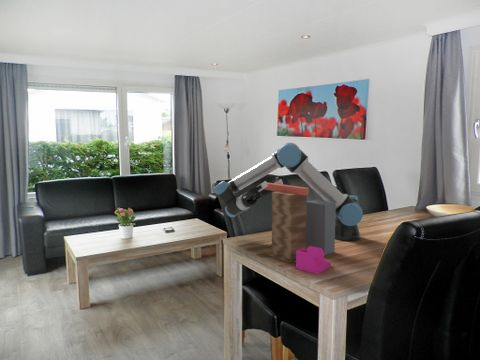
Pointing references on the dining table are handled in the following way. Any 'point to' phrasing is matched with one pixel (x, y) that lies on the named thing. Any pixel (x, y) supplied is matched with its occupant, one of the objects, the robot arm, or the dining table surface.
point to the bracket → (311, 260)
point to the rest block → (320, 225)
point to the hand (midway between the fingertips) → (274, 182)
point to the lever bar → (287, 189)
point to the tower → (288, 225)
